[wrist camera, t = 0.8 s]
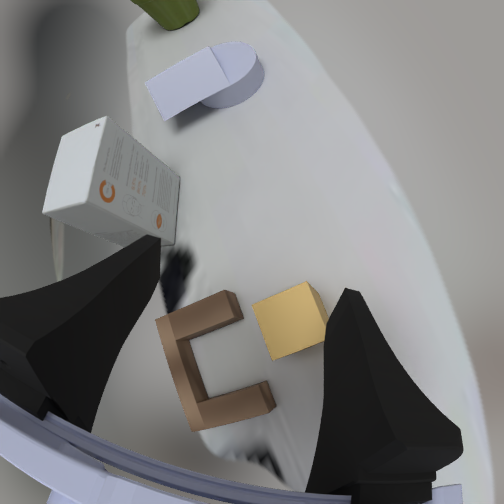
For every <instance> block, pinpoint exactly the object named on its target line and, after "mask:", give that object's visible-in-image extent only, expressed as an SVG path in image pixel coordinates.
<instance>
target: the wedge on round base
mask: <svg viewBox="0 0 504 504" xmlns="http://www.w3.org/2000/svg"><path fill="white" fill-rule="evenodd" d="M263 79H264V70H263V68H262V65H261V63H260V61H259V59H258V56H257V54H256V52H255V50H254V49H253V47H252V46H250V45H249V44H247V43H243V42H226V43H222V44H219V45H216V46H214V47H212V48H211V47H209V46H208V47H206V48H204V49H202V50H200V51H198V52H196V53H194V54H192V55H191V56H189V57H187V58H185V59H183V60H182V61H180V62H178V63H176V64H174V65H173V66H171V67H169V68H168V69H166V70H164V71H163V72H161V73H159V74H158V75H156V76H154V77H153V78H151V79H150V80H148V81H146V82H145V84H146V86H147V88H148V90H149V92H150V94H151V96H152V98H153V100H154V102H155V104H156V106H157V108H158V110H159V112H160V114H161V116H162V118H163V119H164V121H166V120H168V119H169V118H171V117H173V116H174V115H176V114H178V113H180V112H181V111H183V110H185V109H187V108H188V107H190V106H192V105H194V104H196V103H198V102H199V101H201V102H202V103H203V104H204V105H205V106H208V107H211V108H227V107H231V106H234V105H237V104H239V103H241V102H243V101H245V100H247V99H248V98H250V97H251V96H252V95H253V94H254V93H255V92H256V91H257V90H258V89H259V88H260V86H261V84H262V82H263Z"/></svg>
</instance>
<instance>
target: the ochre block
mask: <svg viewBox="0 0 504 504" xmlns="http://www.w3.org/2000/svg"><path fill="white" fill-rule="evenodd" d="M252 307H253V310H254V313H255V315H256V318H257V321H258V324H259V326H260V329H261V332H262V334H263V337H264V340H265V342H266V345H267V348H268V350H269V353H270V356H271V358H272V361H273V360H276V359H279V358H282V357H284V356H287V355H290V354H293V353H295V352H298V351H301V350H303V349H306V348H308V347H311V346H313V345H316V344H318V343H321V342H323V341H324V340H325V331H326V323H327V321H328V320H329V318H328V315H327V313H326V311H325V308H324V306H323V303H322V301H321V298H320V296H319V294H318V292H317V291H316V290H315V289H314V288H313V287H312V286H311V285H310V284H309V283H308V282H307V281H306V282H304V283H301V284H299V285H297V286H295V287H292V288H290V289H288V290H285V291H283V292H281V293H278V294H276V295H274V296H271V297H269V298H267V299H264V300H262V301H260V302H257V303H255V304H253V305H252Z"/></svg>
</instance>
